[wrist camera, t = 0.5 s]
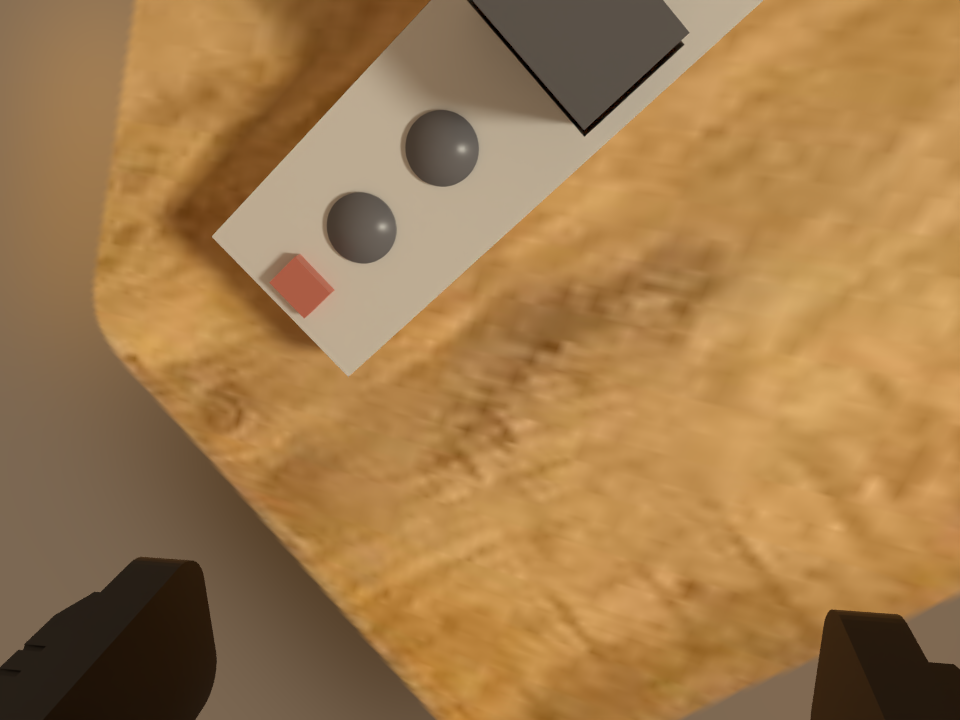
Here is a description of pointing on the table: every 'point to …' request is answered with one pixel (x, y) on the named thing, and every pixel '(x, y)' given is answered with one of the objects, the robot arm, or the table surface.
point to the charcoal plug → (587, 45)
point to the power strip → (424, 173)
